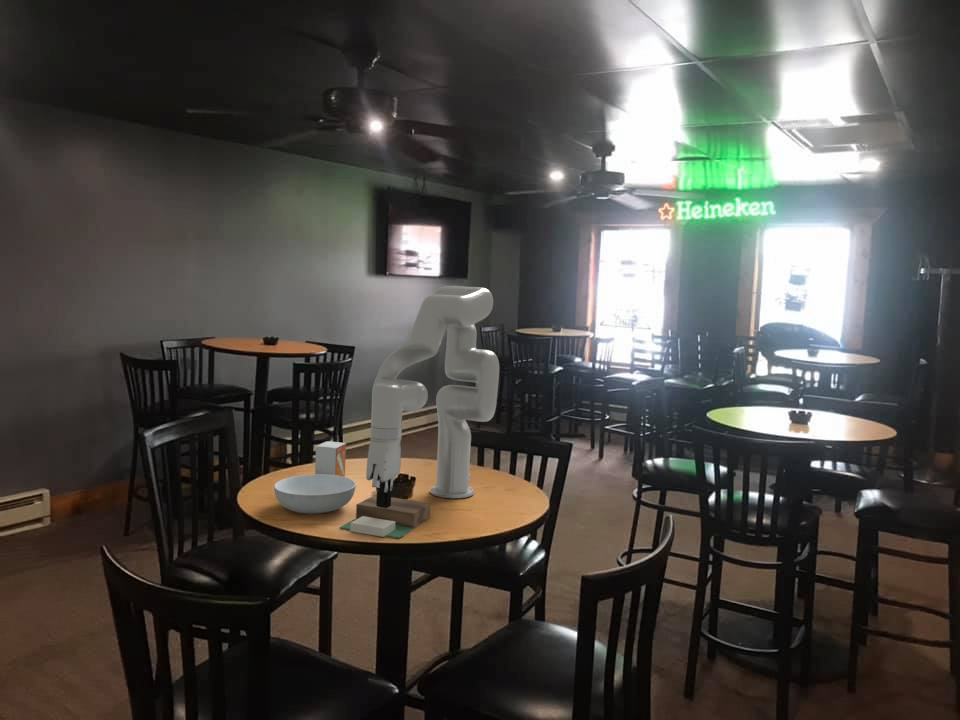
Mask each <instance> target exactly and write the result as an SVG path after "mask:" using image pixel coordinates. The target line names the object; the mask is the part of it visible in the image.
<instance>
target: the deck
mask: <svg viewBox="0 0 960 720" xmlns="http://www.w3.org/2000/svg"><path fill="white" fill-rule="evenodd" d="M376 500H377V494H374V495H372V496H370V497H369V498H366V499H364V500H362V501H360V502H358V503H356V504H355V505H356V507H355V508H356V509H355V510H356V511H355V512H356V513H355V519H358V518H360V517H362V516H365V517H371V518H377V519H383V520H389V521H395V525H398V526H404V527H410V528H413V530H415V529H416V528H418V527H419V526H421V525H423V524H424V523H425V522H427V521H428V520H430V519H431V502H425V501H418V500H412V499H406V498H398V497H394V496H391V506H390V507H388V508H383V507H377V506H376ZM429 518H430V519H429ZM426 520H427V521H426ZM423 522H424V523H423ZM420 524H421V525H420ZM417 526H418V527H417ZM414 528H415V529H414Z"/></svg>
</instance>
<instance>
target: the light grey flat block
mask: <svg viewBox="0 0 960 720" xmlns="http://www.w3.org/2000/svg"><path fill="white" fill-rule="evenodd" d="M355 519H356V518H355ZM394 530H395V521H389V520H383V519H377V518H371V517H365V516H362V517H360V518H358V519H356V520H355V521H353V522H351V523H350V532H353V533H359V534H365V535H366V534H367V535H369V536H370V535H371V536H376V537H382V538H384V536H386V535H387V534H389V533H391V532H392V531H394Z"/></svg>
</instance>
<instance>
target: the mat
mask: <svg viewBox="0 0 960 720" xmlns="http://www.w3.org/2000/svg"><path fill="white" fill-rule="evenodd" d="M355 520H356V518H354V519H352V520H351V521H349V522H347V523H345V524H343V525H341V526H339V529H340V530H344V529H346V530H345V531H349V530H350V523H351V522H353V521H355ZM411 530H412V531H413V530H414V529H413V528H410V527H404V526H398V525H395V530H394V531H392V532H391V533H389V534H387V535H386V536H388V537H387V538H390V537H395V538H394V539H396V538H400V537H401V538H403V537H404V536H406V535H407V534H409V533H411ZM408 532H409V533H408ZM405 534H406V535H405ZM403 535H404V536H403ZM402 536H403V537H402ZM401 538H400V539H401Z"/></svg>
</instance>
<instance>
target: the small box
mask: <svg viewBox="0 0 960 720" xmlns="http://www.w3.org/2000/svg"><path fill="white" fill-rule="evenodd" d="M346 454H347V443H346V442H339V441H330V440H329V441H324V442H322V443H320V444H318V445H316V446H315V462H314V465H315V467H314V470H315V471H314V474H325V475H337V476H343V477H346V459H347V458H346V457H347V456H346Z"/></svg>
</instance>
